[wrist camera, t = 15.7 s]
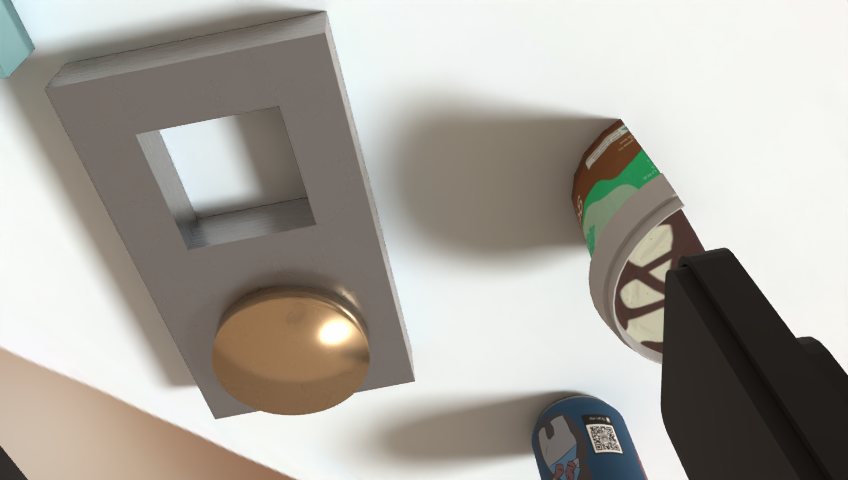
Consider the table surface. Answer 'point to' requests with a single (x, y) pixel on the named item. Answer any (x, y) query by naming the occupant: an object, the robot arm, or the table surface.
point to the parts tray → (12, 40)
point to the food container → (630, 236)
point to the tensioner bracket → (247, 217)
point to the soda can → (584, 442)
